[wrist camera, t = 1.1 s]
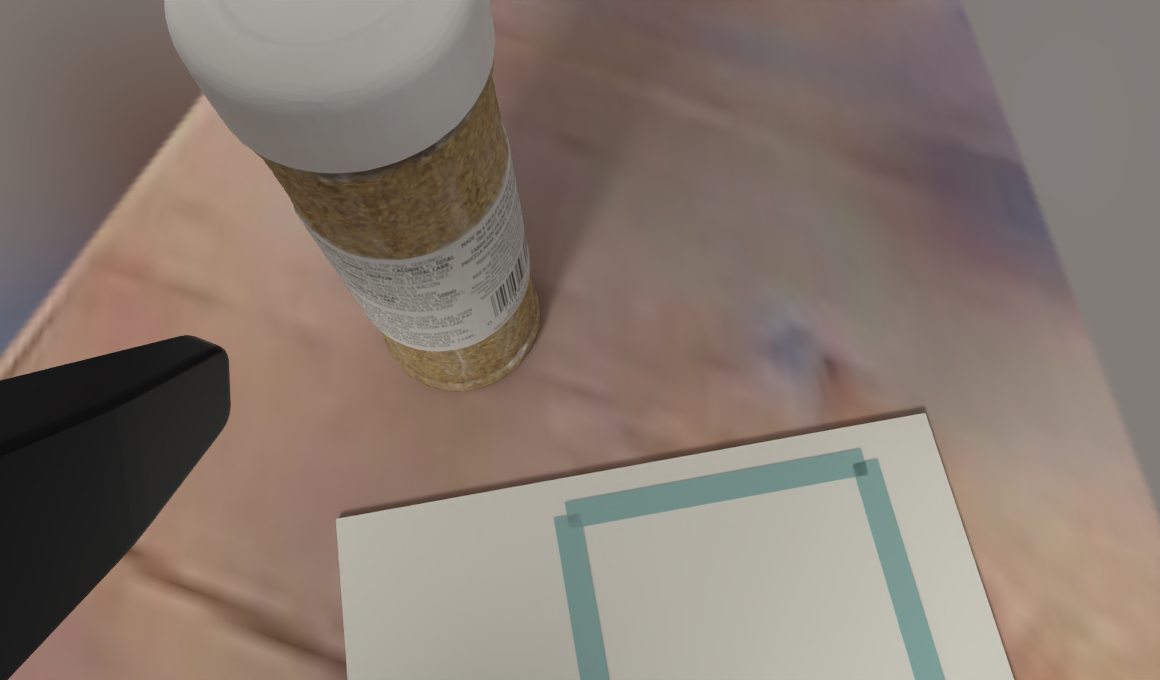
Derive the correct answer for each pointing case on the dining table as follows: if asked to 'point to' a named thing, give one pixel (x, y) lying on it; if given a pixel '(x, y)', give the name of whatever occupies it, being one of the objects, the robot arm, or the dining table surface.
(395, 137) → the sprinkles bottle
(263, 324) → the dining table surface
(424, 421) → the dining table surface
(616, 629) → the paper sheet
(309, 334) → the dining table surface
